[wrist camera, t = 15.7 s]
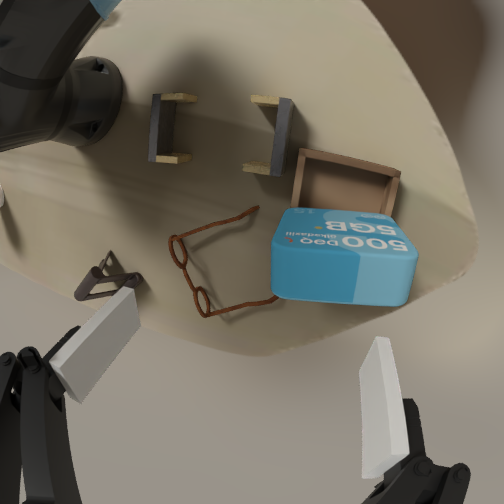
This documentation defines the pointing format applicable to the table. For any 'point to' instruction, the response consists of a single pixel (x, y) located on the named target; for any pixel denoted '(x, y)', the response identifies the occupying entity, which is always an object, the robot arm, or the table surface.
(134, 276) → the portable electronic device stand
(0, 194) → the foam cup
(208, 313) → the glasses
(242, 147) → the table surface
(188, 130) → the table surface
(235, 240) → the table surface
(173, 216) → the table surface
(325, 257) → the data package
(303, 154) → the tray
